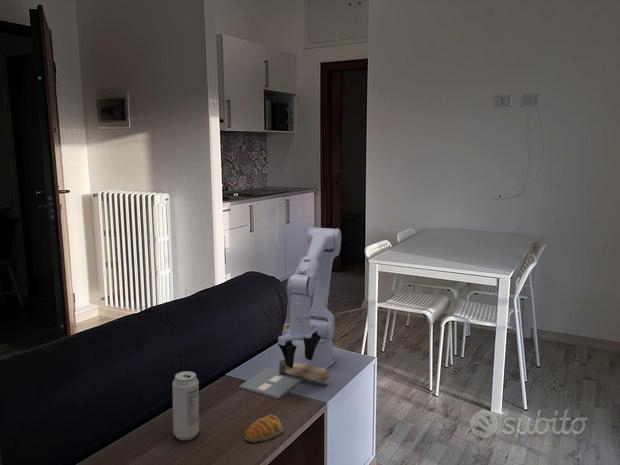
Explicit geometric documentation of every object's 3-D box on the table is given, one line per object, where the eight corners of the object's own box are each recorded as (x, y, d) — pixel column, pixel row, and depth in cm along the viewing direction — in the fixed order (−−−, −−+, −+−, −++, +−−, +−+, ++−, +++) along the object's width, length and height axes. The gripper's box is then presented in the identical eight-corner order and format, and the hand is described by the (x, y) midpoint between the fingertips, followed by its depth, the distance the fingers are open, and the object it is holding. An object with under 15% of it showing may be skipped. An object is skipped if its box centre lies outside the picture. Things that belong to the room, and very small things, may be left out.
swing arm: (277, 373, 159) (277, 362, 158) (282, 369, 162) (282, 359, 161) (324, 384, 152) (324, 373, 152) (328, 380, 155) (329, 370, 154)
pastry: (255, 449, 122) (255, 433, 121) (237, 437, 126) (237, 422, 126) (285, 433, 128) (285, 419, 128) (266, 423, 133) (266, 409, 132)
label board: (268, 369, 164) (268, 366, 164) (304, 379, 158) (304, 376, 158) (239, 388, 151) (239, 385, 151) (278, 399, 145) (278, 396, 145)
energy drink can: (184, 425, 130) (183, 368, 128) (204, 431, 128) (203, 373, 125) (168, 437, 125) (166, 377, 123) (188, 444, 122) (187, 383, 120)
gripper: (291, 326, 139) (290, 374, 141) (328, 314, 149) (327, 360, 152) (273, 319, 144) (272, 366, 146) (310, 308, 154) (309, 353, 157)
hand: (299, 362), depth 149 cm, fingers open, 7 cm apart
